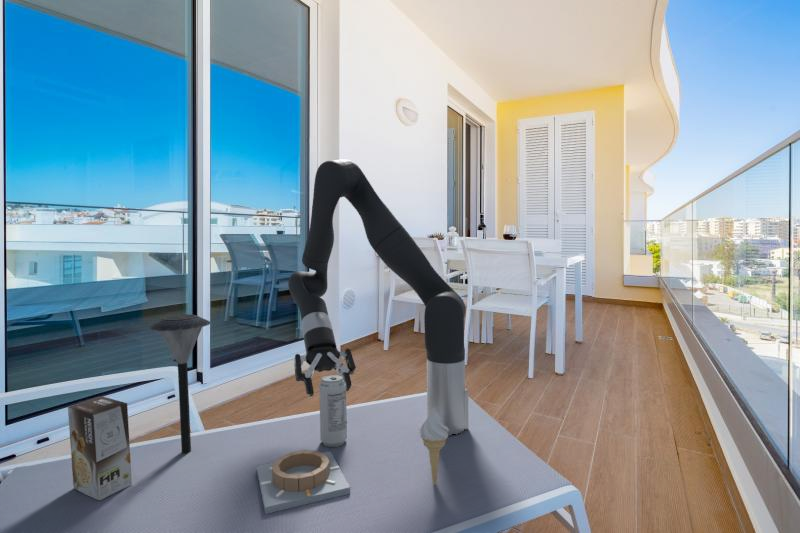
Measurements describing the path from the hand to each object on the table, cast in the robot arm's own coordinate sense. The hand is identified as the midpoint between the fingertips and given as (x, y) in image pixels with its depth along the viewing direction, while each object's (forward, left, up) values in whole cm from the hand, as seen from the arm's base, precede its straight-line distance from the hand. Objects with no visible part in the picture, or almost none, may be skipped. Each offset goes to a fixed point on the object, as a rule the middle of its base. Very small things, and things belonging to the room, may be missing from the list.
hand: (330, 392), depth 104 cm
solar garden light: (+31, -6, -11) cm, 33 cm away
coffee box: (+45, +3, -11) cm, 46 cm away
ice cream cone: (-13, +28, -11) cm, 32 cm away
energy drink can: (0, +3, -11) cm, 11 cm away
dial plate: (+10, +17, -11) cm, 22 cm away
